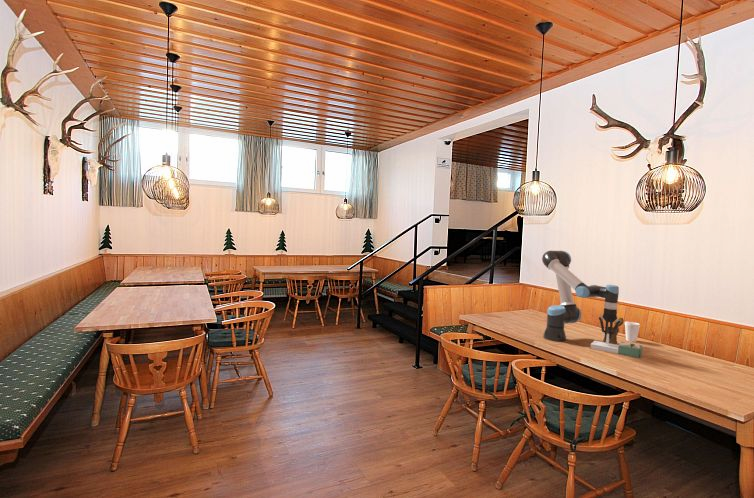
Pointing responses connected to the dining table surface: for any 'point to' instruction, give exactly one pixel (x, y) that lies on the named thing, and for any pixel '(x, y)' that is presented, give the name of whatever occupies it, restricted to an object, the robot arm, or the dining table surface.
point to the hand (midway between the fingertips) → (607, 343)
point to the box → (630, 351)
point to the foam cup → (631, 331)
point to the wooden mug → (614, 336)
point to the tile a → (625, 344)
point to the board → (604, 347)
